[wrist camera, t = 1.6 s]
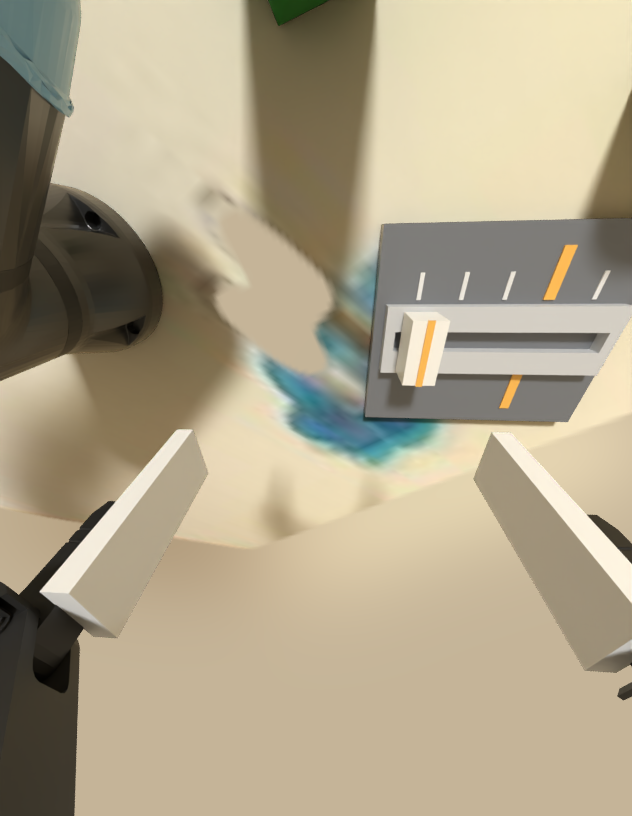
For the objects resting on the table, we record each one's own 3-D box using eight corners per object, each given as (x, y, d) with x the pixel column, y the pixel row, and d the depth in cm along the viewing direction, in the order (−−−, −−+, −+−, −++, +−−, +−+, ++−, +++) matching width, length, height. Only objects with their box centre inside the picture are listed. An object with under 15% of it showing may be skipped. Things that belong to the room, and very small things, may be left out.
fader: (393, 366, 29) (402, 386, 25) (401, 308, 26) (413, 320, 22) (420, 366, 29) (435, 387, 25) (432, 308, 26) (451, 320, 22)
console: (364, 410, 35) (366, 422, 32) (381, 224, 24) (386, 222, 22) (558, 415, 33) (575, 427, 31) (667, 218, 23) (704, 215, 20)
